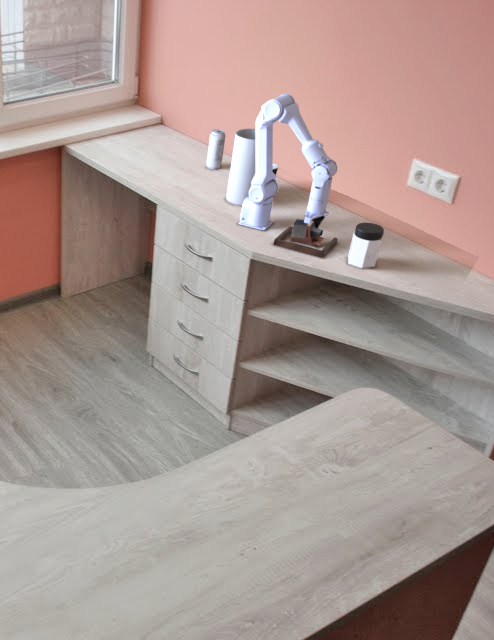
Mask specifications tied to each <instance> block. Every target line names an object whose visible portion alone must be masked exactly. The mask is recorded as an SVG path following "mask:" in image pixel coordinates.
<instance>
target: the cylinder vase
mask: <svg viewBox="0 0 494 640" xmlns="http://www.w3.org/2000/svg"><path fill="white" fill-rule="evenodd" d="M234 134H235V136H234V141H233V149H232V155H231V162H230V167H229V168H230V169H229V175H228V181H227V188H226V195H225V199H226V201H227V202H228V203H230V204H231V205H234V206H239V207H242V205H243V202H244V200H245V199H246V198H247V197H249V190H250V188H251V182H252V180H253V178H254V176H255V174H256V128H241V129H238V130H236V131H235V133H234Z"/></svg>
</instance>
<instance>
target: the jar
mask: <svg viewBox="0 0 494 640" xmlns="http://www.w3.org/2000/svg"><path fill="white" fill-rule="evenodd" d="M384 233H385V228H384V227H383V226H382V225H380V224H378V223H374V222H359V223H357V224H356V225H355V229H354V231H353V234H352V239H351V242H350V246H349V250H348V254H347V263H348V265H350V266H354V267H356V268H360V269H368V268H369V269H370V268H375V267H376V264H377V260H378V257H379V253H380V249H381V246H382V243H383V236H384Z"/></svg>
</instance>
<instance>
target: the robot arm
mask: <svg viewBox="0 0 494 640" xmlns="http://www.w3.org/2000/svg"><path fill="white" fill-rule="evenodd" d="M276 122H278V123H281V124H285V125H288V126H289V127H290V128H291V130H292V132H293V133H294V134H295V136H296V137H297V139H298V140H299V142H300V143H301V145H302V146H301V153H302V154H303V156H304V158H305V160H306V161H307V163H308V165H309V166H310V168H311V169H312V170H311V172H310V175H311V177H312V184H311V189H310V193H309V197H308V201H307V202H308V203H307V207H306V210H305V215H304V219H303V220H304V223H308V224H310V223H311V221H314V222H315V228H318V229H319V227H320V225H321V224H322V222H323V221H324V220H325V219H326V217H327V216H329V215H330V212H329V211H327V206H328V201H329V198H330V192H331V189H332V182H333V177H334V176H335V175H336V174H337V172H338V165H337V162H336V161H335V160H334V159H332V158H331V157H330V156H328V155H327V153H326V151H325V150H324V148H323V147H324V144H323V143H322V142H320V141H319V139H314V138H313V137H312V135H311V132H310V130H309V128H308V126H307V125H306V122H305V120H304V119H303V117H302V114H301V113H300V108H299V104H298V103H297V102H296V101H295V98H294V96H292V95H291V94H289V93H282V94H280V95H278V96H277V97H274V98H271V99H269V100H267V101H266V102H265V103H263V104H262V105H261V108H260V111H259V113H258V115H257V117H256V119H255V129H256V174H255V176H254V178H253V180H252V182H251V188H250V190H249V197H247V198H246V199H245V200H244V202H243V205H242V206H241V209H240V217H239V221H238V225H239V226H240V225H241V226H245V227H248V228H252V229H256V230H259V231H263V232H264V231H265V230H267V229H268V228H269V227H270V226H272V225H273V223H274V222H273V221H271V220H270V218H271V213H272V207H273V202H274V196H275V195H276V194H277V193H278V192H279V184H278V182H277V174H276V175H275V174H274V173H273V172H272V163H273V160H274V159H273V154H274V153H273V151H274V149H273V147H274V145H273V144H274V141H273V140H274V125H275V123H276Z"/></svg>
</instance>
